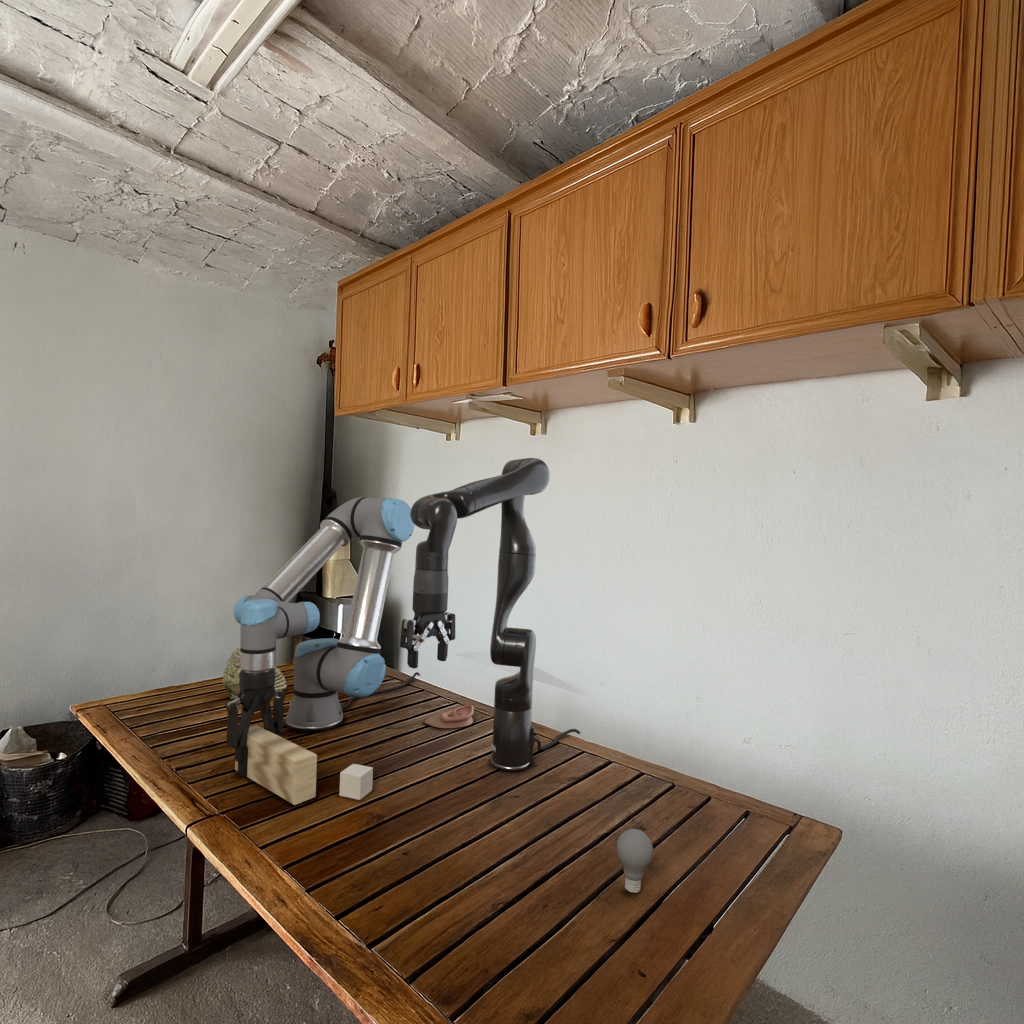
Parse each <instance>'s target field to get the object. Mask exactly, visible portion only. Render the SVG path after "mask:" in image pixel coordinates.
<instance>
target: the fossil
mask: <svg viewBox="0 0 1024 1024" xmlns="http://www.w3.org/2000/svg"><path fill="white" fill-rule="evenodd" d="M274 669H275V684H274V688H275V690H278V689H280V690H283V691H285V692H286V689H287V687H288V686H287V680H286V678H285V676H284V674H283V673H282V672H281V669H279V668H278V667H277V665H276V666H275V667H274ZM241 670H242V669H240V646H238V647H237V648H236V649H235V650H233V651H232V653H231V656H230V657H229V659H228V660H227V663H226V666H225V668H224V671H223V675H222V676H223V677H222V685H223V687H224V688H225V690H226V691H228V693H229V698H230V699H236V698H237V697H238V694H239V692H240V687H239V673H240V671H241Z"/></svg>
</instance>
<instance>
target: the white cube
mask: <svg viewBox="0 0 1024 1024" xmlns="http://www.w3.org/2000/svg"><path fill="white" fill-rule="evenodd" d="M373 775H374V767H373V766H369V765H362V764H357V763H351V764H350V765H349V766H348V767H346V768H344V769H343V770H341V772H340V773H339V794H338V795H339V797H344V798H348V799H352V800H357V801H361V800H362V799H363V798H364V797H366V796H367V795H369V794H370V793H371V792H372V791H373V783H374V781H373V779H374V778H373V777H374V776H373Z"/></svg>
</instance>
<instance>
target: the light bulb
mask: <svg viewBox="0 0 1024 1024" xmlns="http://www.w3.org/2000/svg"><path fill="white" fill-rule="evenodd" d="M615 849H616V854H617V857H618V859H619V861H620V863H621V865H622V867H623V873H624V874H623V875H624V876H625V878H624V888H625V890H627V891H628V892H630V893H634V894H635V893H639V892H640V891H641V889H642V887H641V886H642V879H643V877H644V875H645V871H646V868H647V867H648V866H649V864H650V863H651V861H652V859H653V855H654V847H653V843H652V841H651V838H649V836H648V835H647V834H646V833H645V832H643V831H642V830H641V829H636V828H629V829H627V830H625V831H623V832H622V833H621V834H620V835H619V837H618V839H617V841H616V847H615Z"/></svg>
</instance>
